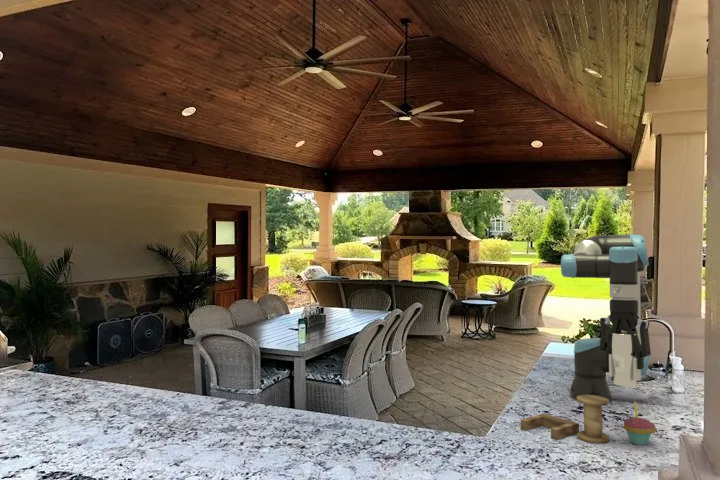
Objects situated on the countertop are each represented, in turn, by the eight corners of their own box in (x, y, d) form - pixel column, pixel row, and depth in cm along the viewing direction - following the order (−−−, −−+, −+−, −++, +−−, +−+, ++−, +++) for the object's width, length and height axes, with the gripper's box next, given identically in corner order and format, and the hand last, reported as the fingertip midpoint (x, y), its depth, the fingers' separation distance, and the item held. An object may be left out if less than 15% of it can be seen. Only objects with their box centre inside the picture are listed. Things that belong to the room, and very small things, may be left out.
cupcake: (617, 437, 163) (617, 397, 164) (644, 437, 164) (643, 397, 165) (634, 447, 155) (633, 405, 155) (662, 446, 156) (661, 404, 156)
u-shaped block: (543, 422, 178) (543, 413, 178) (579, 432, 168) (579, 423, 168) (520, 429, 171) (520, 419, 171) (556, 440, 161) (556, 430, 161)
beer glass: (641, 388, 152) (640, 334, 153) (615, 386, 154) (614, 334, 155) (634, 383, 159) (633, 332, 160) (609, 381, 161) (608, 331, 161)
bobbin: (587, 432, 169) (587, 393, 169) (615, 439, 161) (614, 399, 162) (571, 437, 163) (570, 397, 164) (599, 445, 156) (598, 403, 157)
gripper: (585, 297, 163) (586, 373, 162) (651, 301, 148) (652, 385, 146) (599, 297, 168) (600, 371, 167) (664, 300, 152) (665, 382, 151)
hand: (624, 378), depth 157 cm, fingers closed on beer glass, 6 cm apart
